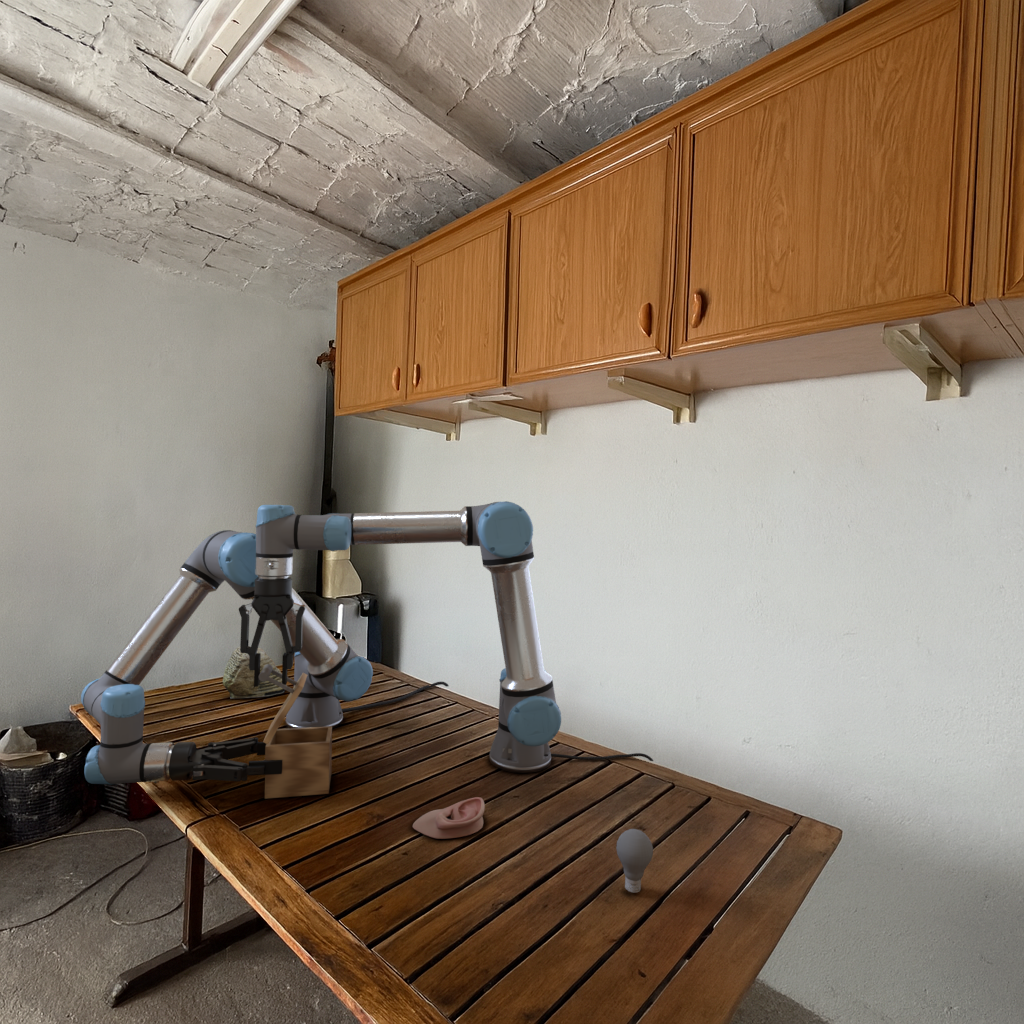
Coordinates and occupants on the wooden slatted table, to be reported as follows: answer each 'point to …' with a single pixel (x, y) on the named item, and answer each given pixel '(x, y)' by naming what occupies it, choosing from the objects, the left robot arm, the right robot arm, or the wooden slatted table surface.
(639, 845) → the light bulb
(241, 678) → the fossil
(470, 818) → the anatomical model
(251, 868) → the wooden slatted table surface
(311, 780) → the chest
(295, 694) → the lid
